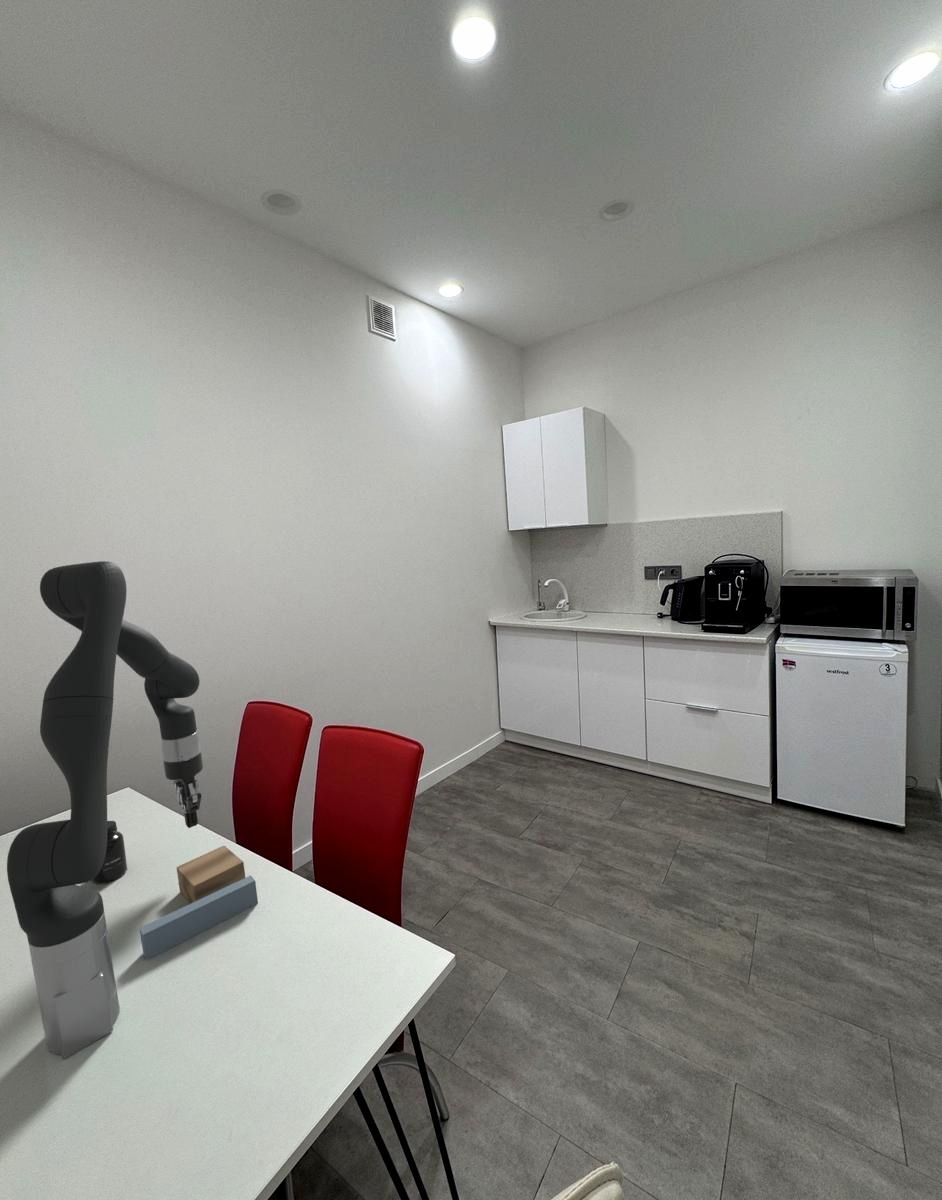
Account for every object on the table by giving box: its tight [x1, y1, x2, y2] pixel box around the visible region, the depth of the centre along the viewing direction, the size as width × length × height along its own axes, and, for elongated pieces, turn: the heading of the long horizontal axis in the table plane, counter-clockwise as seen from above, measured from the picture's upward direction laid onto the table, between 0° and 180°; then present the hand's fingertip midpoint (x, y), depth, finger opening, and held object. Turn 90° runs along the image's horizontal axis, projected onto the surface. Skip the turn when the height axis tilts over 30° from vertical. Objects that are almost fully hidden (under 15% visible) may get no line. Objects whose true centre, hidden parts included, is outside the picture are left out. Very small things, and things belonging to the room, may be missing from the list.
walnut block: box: [176, 845, 246, 904], centre depth 113 cm, size 10×10×6 cm
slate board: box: [139, 875, 259, 961], centre depth 102 cm, size 2×20×5 cm, turn 133°
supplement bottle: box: [91, 820, 128, 885], centre depth 120 cm, size 7×7×12 cm
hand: (192, 825), depth 120 cm, fingers closed
